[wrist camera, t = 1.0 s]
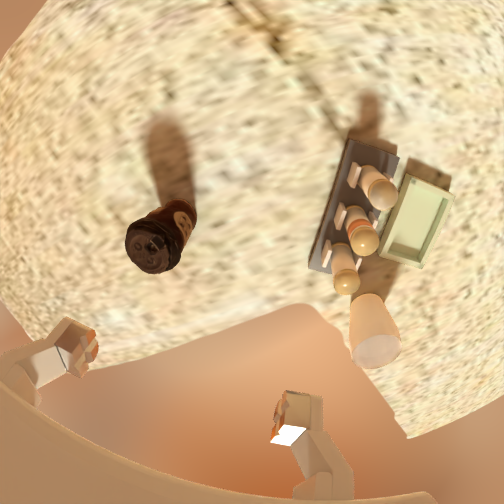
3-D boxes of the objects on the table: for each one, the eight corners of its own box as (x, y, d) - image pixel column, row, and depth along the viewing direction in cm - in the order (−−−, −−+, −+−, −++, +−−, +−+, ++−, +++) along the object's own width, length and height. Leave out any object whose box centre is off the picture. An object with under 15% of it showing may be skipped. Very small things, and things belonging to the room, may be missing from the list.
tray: (406, 172, 38) (411, 177, 36) (448, 191, 38) (455, 196, 36) (376, 249, 45) (379, 256, 43) (417, 261, 45) (422, 269, 43)
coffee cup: (203, 193, 45) (172, 226, 34) (206, 239, 49) (180, 282, 38) (155, 192, 46) (114, 223, 35) (161, 236, 50) (126, 275, 39)
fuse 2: (359, 161, 37) (375, 176, 29) (381, 169, 37) (402, 186, 29) (351, 184, 39) (365, 205, 31) (374, 191, 39) (391, 214, 31)
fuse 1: (332, 238, 44) (339, 269, 36) (354, 244, 44) (364, 276, 36) (325, 258, 46) (329, 291, 38) (346, 263, 46) (354, 297, 38)
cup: (384, 321, 52) (396, 366, 42) (342, 324, 54) (348, 371, 44) (390, 285, 48) (408, 330, 38) (344, 289, 50) (353, 336, 39)
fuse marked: (346, 201, 40) (357, 226, 33) (368, 208, 40) (383, 234, 33) (338, 223, 42) (347, 251, 35) (360, 229, 42) (372, 258, 34)
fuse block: (348, 138, 37) (355, 142, 33) (396, 155, 37) (408, 162, 33) (308, 263, 48) (308, 280, 44) (350, 274, 48) (354, 291, 44)
